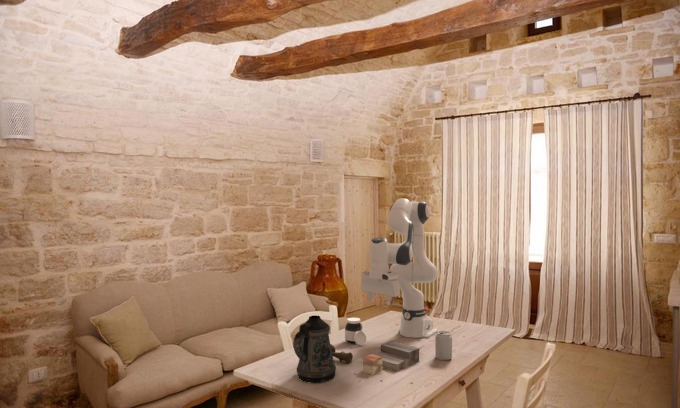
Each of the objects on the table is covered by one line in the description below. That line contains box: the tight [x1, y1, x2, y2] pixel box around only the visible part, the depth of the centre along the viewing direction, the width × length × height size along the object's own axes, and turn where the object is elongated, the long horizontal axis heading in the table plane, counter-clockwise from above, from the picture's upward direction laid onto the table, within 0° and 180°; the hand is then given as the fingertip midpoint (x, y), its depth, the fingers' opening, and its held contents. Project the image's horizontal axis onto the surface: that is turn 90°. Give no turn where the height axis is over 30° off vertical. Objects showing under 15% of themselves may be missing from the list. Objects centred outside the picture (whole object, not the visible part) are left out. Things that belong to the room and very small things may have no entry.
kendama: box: [330, 343, 354, 365], centre depth 219 cm, size 6×10×20 cm
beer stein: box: [292, 315, 337, 384], centre depth 198 cm, size 16×19×25 cm
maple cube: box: [362, 353, 383, 375], centre depth 205 cm, size 6×6×6 cm
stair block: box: [372, 340, 420, 372], centre depth 215 cm, size 17×16×6 cm
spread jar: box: [344, 317, 367, 346], centre depth 244 cm, size 12×11×12 cm
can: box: [434, 330, 453, 361], centre depth 220 cm, size 8×8×12 cm
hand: (379, 303), depth 219 cm, fingers open, 8 cm apart
